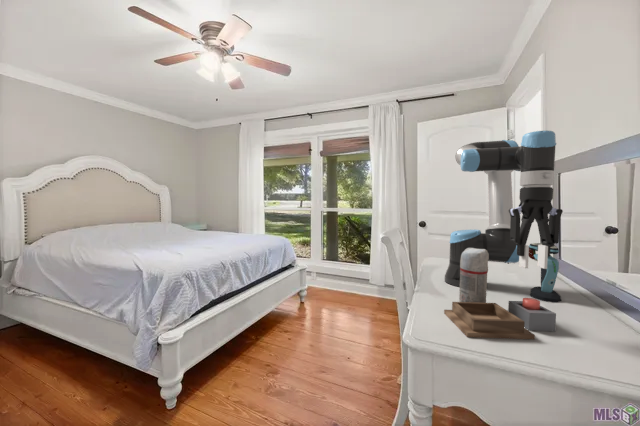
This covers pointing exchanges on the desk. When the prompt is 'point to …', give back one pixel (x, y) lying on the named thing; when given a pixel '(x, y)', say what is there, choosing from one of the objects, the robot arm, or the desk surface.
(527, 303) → the button
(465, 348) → the desk surface
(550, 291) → the teal power drill
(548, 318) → the control box
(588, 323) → the desk surface
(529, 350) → the desk surface
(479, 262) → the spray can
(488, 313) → the walnut tray
